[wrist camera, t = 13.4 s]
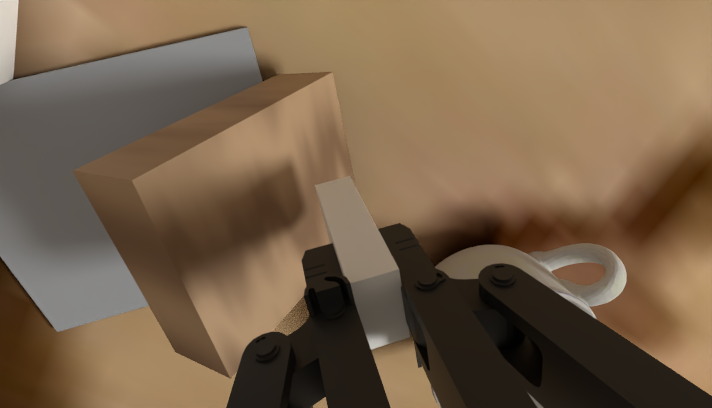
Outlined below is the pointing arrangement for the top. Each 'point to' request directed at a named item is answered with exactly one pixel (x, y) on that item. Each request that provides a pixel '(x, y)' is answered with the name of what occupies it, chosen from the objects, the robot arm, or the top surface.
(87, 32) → the top surface
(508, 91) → the top surface
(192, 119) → the walnut slab
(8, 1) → the napkin holder
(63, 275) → the felt mat
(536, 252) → the teacup
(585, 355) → the robot arm
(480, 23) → the top surface
